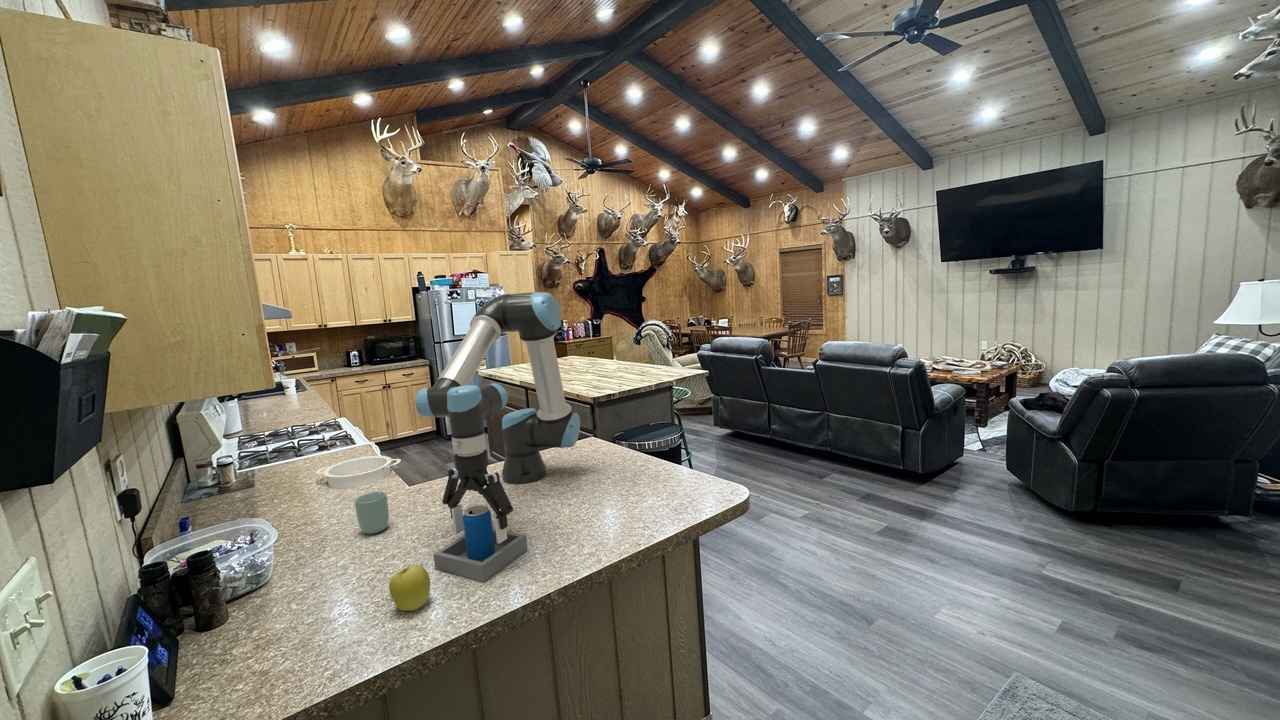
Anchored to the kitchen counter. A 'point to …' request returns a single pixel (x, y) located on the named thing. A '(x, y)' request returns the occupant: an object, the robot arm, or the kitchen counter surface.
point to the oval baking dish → (357, 464)
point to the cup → (372, 512)
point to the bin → (458, 563)
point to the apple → (410, 588)
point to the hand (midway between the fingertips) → (480, 536)
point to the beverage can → (478, 533)
